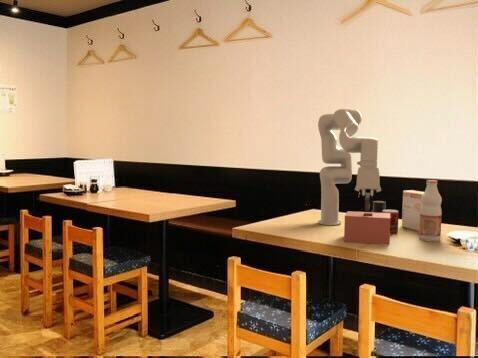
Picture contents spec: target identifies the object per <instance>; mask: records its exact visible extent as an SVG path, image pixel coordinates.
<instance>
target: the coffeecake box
mask: <svg viewBox="0 0 478 358" xmlns="http://www.w3.org/2000/svg"><path fill="white" fill-rule="evenodd" d="M424 192H425V191H420V190H414V189H410V190H407V189H406V190H403V191H402V208H401V209H402V212H401V215H402V216H401V227H404V228H407V229H410V230H414V231H417V232H419V227H420V208H421V206H422V203H421V196H422V195H423V194H424Z"/></svg>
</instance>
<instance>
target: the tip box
mask: <svg viewBox="0 0 478 358" xmlns="http://www.w3.org/2000/svg"><path fill="white" fill-rule="evenodd" d="M343 227H344V232H343V233H344V237H343V241H344V242H345V243H359V244H375V245H389V246H390V244H391V243H390V239H391V238H390V235H391V234H390V213H373V212H371V211H349V210H348V211H346V213H345V215H344V226H343Z"/></svg>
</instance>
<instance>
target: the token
mask: <svg viewBox="0 0 478 358" xmlns="http://www.w3.org/2000/svg"><path fill="white" fill-rule="evenodd" d="M365 194H366V195H365V204H364V212H371V211H370V209H371V204H370V194H371V192H365Z"/></svg>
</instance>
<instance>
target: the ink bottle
mask: <svg viewBox="0 0 478 358" xmlns="http://www.w3.org/2000/svg"><path fill="white" fill-rule="evenodd" d="M386 202H387V201H383V200H374V201H373V202H372V208H373V209H372V210H371V211H370V212H373V213H383V210H386V208H387V206H386V205H387V203H386Z"/></svg>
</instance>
